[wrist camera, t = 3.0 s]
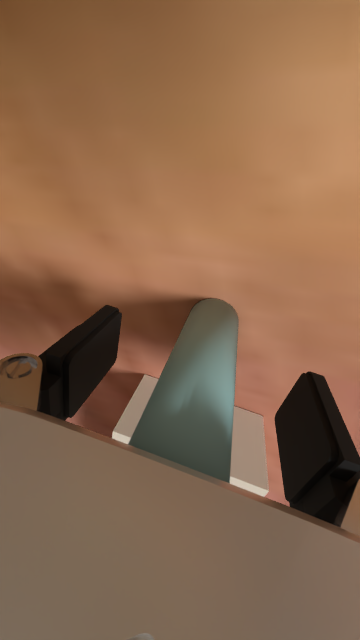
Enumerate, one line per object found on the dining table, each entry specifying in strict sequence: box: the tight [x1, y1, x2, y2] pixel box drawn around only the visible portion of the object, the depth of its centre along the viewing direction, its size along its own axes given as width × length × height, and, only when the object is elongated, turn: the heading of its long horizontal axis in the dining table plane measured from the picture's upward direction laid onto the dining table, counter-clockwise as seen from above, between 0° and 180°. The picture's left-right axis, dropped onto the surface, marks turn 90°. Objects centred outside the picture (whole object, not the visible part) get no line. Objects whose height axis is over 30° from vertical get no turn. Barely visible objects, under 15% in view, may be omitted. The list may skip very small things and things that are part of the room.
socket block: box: [112, 374, 269, 497], centre depth 19 cm, size 16×9×5 cm, turn 167°
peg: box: [128, 298, 239, 483], centre depth 10 cm, size 3×3×10 cm
